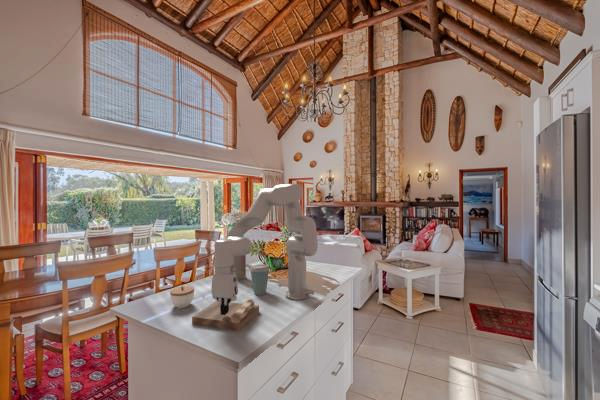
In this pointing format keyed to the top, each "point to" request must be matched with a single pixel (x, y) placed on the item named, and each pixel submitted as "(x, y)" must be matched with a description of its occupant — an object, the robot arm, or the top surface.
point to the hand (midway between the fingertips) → (224, 313)
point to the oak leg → (242, 311)
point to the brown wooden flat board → (223, 316)
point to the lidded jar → (182, 296)
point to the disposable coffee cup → (259, 278)
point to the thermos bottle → (240, 266)
